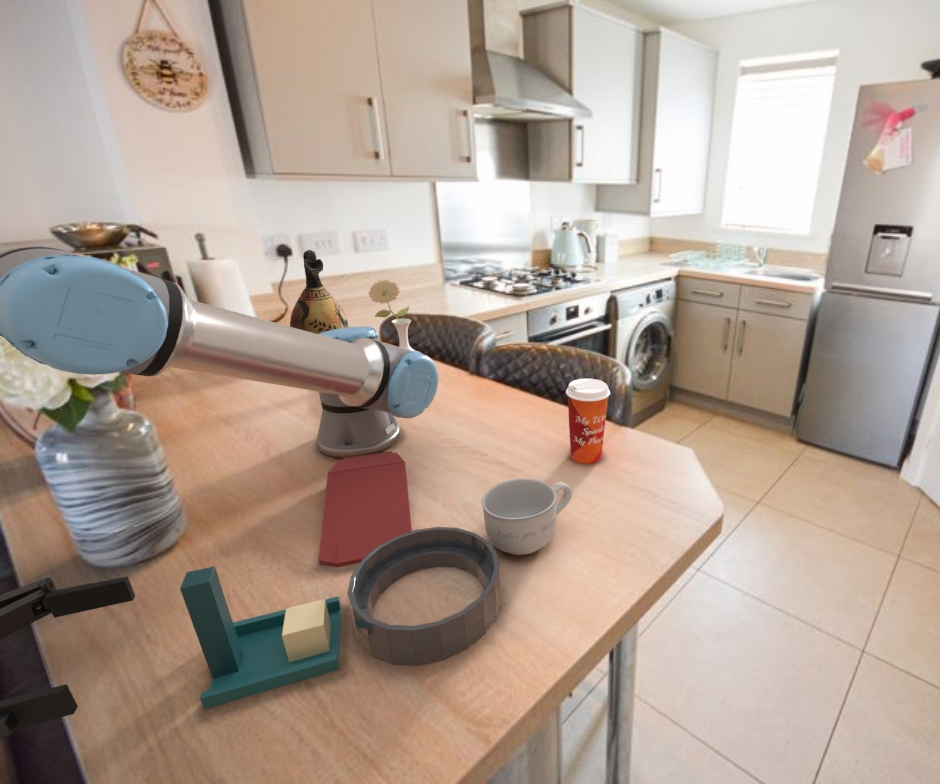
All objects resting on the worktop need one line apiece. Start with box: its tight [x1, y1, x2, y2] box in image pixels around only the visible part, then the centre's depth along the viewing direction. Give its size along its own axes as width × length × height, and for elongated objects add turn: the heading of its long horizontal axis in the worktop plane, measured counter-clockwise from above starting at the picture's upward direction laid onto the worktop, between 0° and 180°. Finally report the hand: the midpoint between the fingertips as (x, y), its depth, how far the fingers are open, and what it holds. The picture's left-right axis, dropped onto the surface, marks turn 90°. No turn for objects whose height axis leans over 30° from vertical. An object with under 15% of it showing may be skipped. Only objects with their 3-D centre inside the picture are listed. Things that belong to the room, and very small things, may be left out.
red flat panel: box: [318, 450, 413, 567], centre depth 81 cm, size 12×5×25 cm
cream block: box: [282, 598, 331, 662], centre depth 57 cm, size 4×4×4 cm
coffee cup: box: [565, 378, 611, 465], centre depth 97 cm, size 8×8×15 cm
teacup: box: [481, 478, 573, 556], centre depth 75 cm, size 14×11×8 cm
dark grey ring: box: [347, 526, 502, 667], centre depth 63 cm, size 17×17×6 cm
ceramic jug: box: [289, 249, 350, 334], centre depth 148 cm, size 17×15×30 cm
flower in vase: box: [368, 279, 416, 351], centre depth 138 cm, size 13×11×25 cm
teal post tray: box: [179, 566, 342, 710], centre depth 55 cm, size 12×10×13 cm
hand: (104, 637), depth 49 cm, fingers open, 13 cm apart
